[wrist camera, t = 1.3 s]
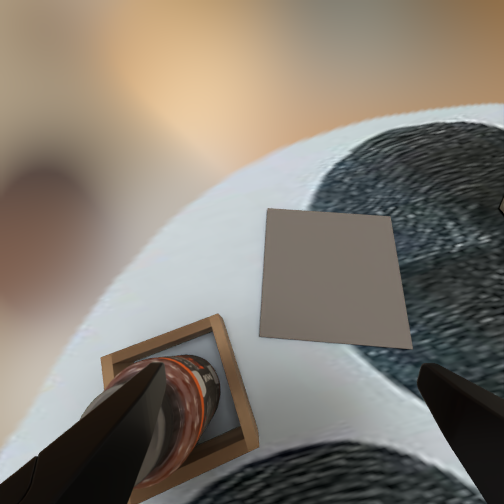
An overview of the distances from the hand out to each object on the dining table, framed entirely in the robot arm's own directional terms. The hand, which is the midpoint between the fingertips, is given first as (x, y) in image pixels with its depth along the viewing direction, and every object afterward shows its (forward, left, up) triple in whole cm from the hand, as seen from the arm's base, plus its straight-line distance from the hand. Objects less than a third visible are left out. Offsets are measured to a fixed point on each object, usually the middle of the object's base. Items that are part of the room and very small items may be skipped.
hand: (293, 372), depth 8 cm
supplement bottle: (-3, +7, -15) cm, 16 cm away
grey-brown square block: (+9, -6, -14) cm, 18 cm away
